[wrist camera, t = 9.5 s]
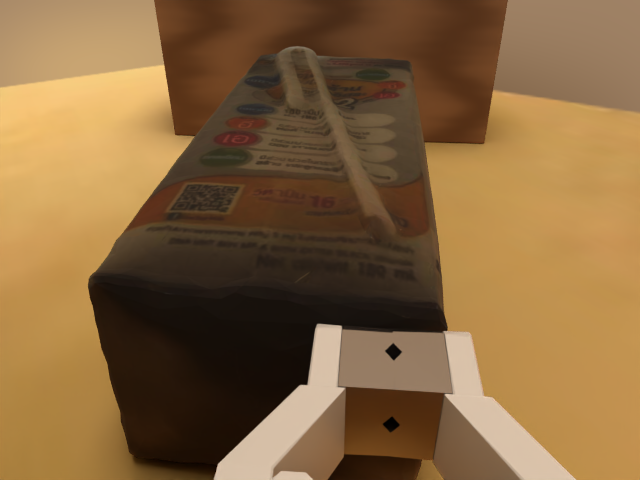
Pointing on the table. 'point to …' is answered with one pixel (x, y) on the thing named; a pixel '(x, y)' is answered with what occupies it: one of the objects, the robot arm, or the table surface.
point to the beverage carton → (270, 255)
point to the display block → (337, 51)
